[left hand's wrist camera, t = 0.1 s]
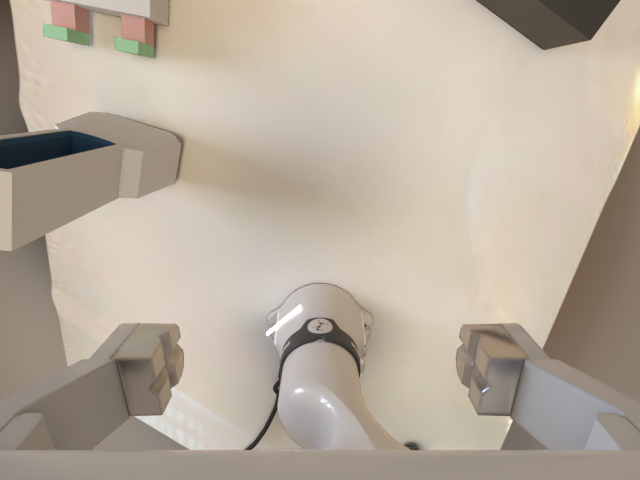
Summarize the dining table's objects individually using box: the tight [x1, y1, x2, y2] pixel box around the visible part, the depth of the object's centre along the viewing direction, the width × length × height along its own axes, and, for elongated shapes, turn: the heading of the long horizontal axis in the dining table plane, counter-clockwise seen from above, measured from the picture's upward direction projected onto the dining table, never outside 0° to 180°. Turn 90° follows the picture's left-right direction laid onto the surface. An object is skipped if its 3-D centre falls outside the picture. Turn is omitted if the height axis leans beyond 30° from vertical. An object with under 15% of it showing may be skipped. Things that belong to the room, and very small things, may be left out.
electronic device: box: [0, 112, 182, 251], centre depth 41 cm, size 12×8×30 cm, turn 73°
